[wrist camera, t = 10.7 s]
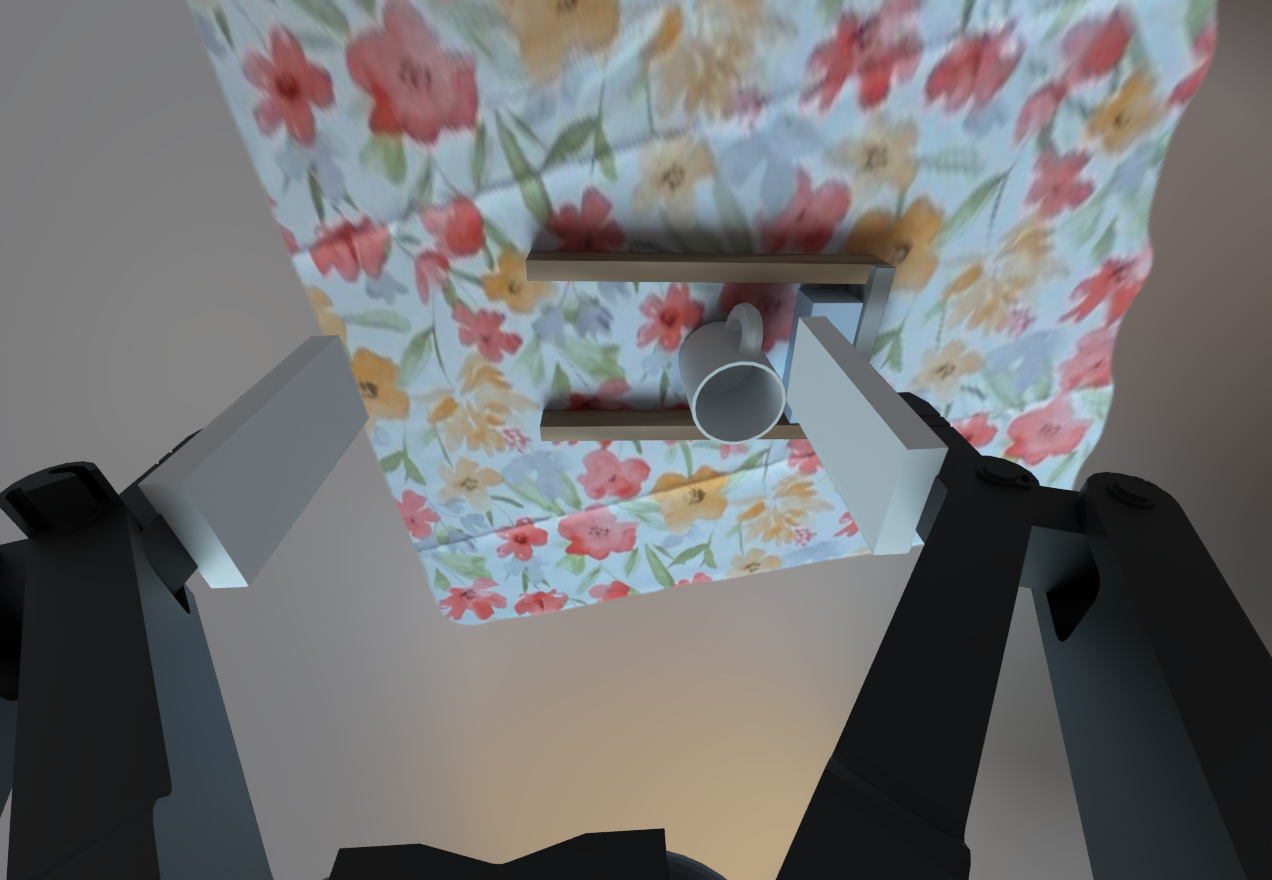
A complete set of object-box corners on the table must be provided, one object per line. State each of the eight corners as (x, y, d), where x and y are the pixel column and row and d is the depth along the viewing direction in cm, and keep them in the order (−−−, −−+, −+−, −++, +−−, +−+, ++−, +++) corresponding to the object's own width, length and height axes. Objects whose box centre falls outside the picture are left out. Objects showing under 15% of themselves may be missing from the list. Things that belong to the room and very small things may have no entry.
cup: (669, 386, 49) (681, 437, 41) (698, 280, 44) (717, 316, 36) (742, 398, 50) (767, 450, 42) (779, 296, 45) (814, 335, 37)
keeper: (813, 303, 41) (863, 303, 42) (797, 288, 45) (843, 288, 45) (789, 423, 47) (833, 422, 48) (777, 402, 51) (818, 401, 51)
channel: (530, 250, 42) (524, 263, 38) (873, 255, 43) (896, 268, 40) (544, 424, 50) (540, 447, 47) (830, 422, 52) (845, 444, 49)
